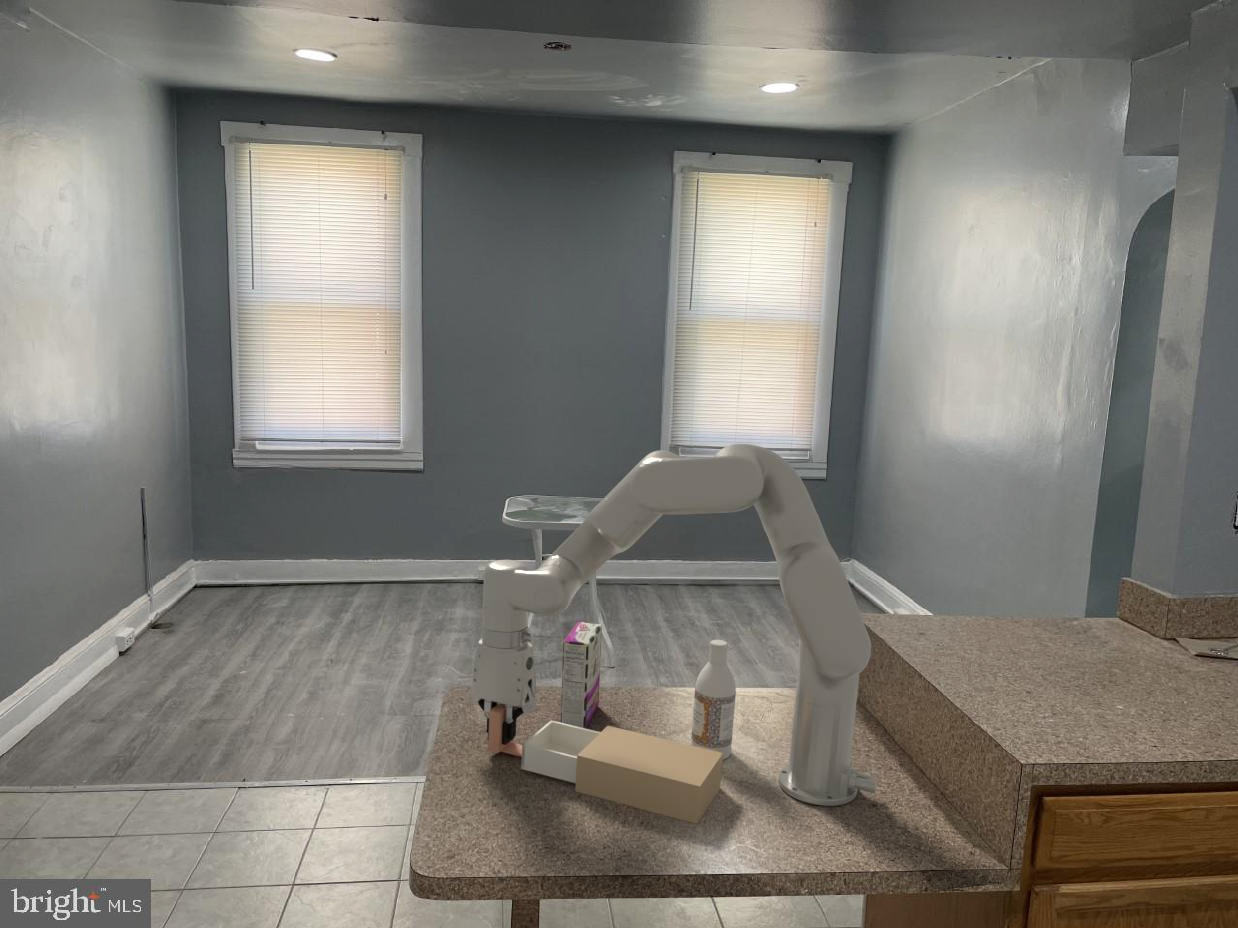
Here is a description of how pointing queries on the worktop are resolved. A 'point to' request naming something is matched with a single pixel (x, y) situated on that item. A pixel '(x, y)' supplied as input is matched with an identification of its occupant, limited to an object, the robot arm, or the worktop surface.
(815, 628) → the robot arm
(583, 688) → the candy bar box
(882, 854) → the worktop surface
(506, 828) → the worktop surface
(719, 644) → the bath foam
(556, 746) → the tray
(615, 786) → the sleeve
